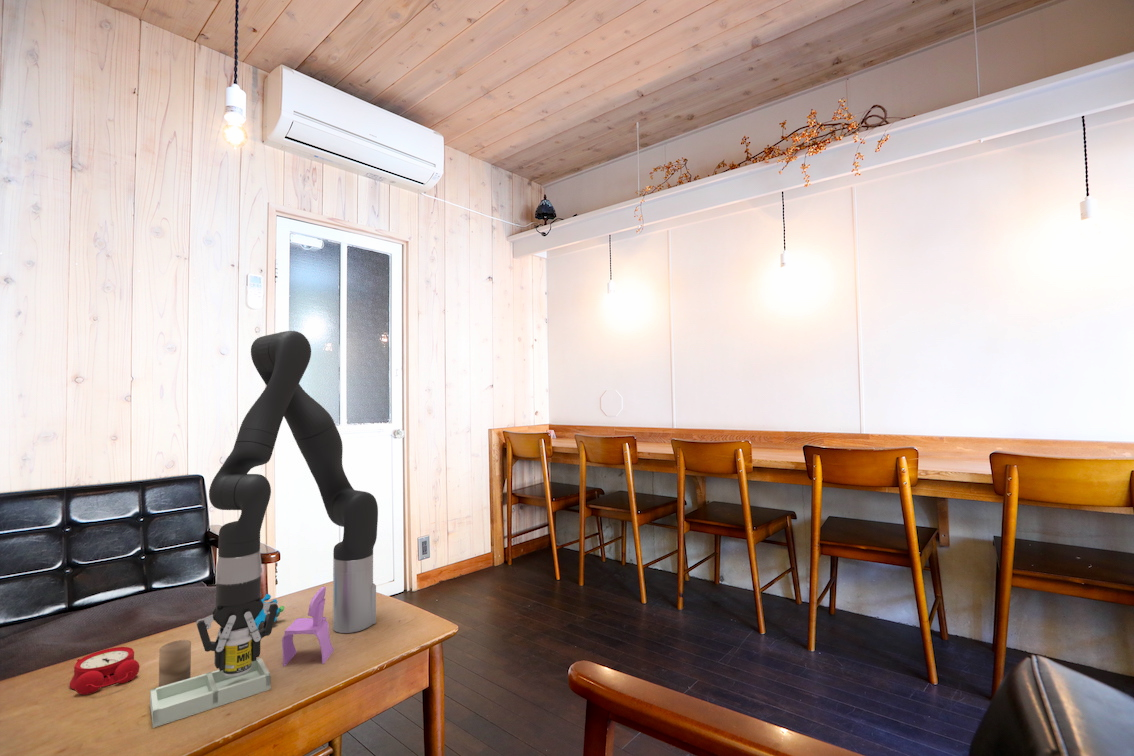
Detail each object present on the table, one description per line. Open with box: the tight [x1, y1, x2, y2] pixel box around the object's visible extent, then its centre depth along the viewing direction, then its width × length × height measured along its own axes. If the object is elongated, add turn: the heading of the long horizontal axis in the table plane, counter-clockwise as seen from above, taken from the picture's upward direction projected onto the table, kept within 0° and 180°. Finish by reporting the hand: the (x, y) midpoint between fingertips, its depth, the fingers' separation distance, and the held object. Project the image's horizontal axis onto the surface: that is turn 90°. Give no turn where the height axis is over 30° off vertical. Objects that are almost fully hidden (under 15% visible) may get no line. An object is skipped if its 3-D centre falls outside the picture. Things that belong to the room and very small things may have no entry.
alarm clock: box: [69, 646, 140, 696], centre depth 107 cm, size 10×6×15 cm
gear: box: [254, 593, 285, 629], centre depth 131 cm, size 11×6×10 cm
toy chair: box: [281, 585, 335, 667], centre depth 115 cm, size 8×9×15 cm
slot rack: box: [149, 657, 272, 729], centre depth 100 cm, size 18×9×3 cm, turn 131°
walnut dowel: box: [158, 639, 192, 687], centre depth 104 cm, size 5×5×8 cm
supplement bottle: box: [223, 627, 252, 677], centre depth 103 cm, size 5×5×8 cm
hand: (237, 663), depth 103 cm, fingers closed on supplement bottle, 4 cm apart
